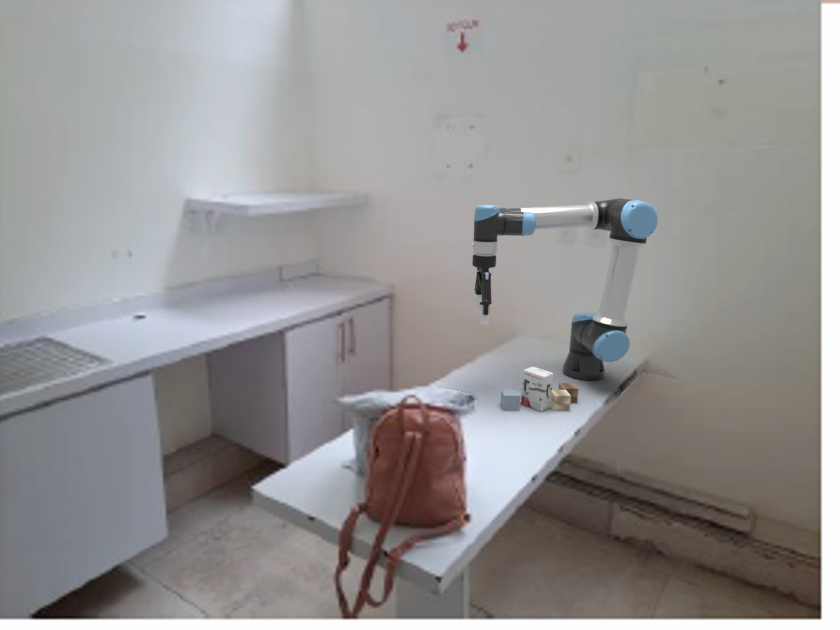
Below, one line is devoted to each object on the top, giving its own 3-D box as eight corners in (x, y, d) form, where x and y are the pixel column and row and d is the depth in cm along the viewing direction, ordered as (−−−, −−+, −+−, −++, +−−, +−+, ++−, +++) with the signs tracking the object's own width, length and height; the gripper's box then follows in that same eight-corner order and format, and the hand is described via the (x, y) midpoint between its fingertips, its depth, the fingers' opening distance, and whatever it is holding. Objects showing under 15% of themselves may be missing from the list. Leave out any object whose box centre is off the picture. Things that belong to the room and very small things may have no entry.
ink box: (519, 403, 186) (522, 369, 183) (528, 399, 189) (531, 365, 186) (542, 412, 180) (545, 376, 177) (551, 407, 183) (554, 373, 180)
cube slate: (515, 404, 186) (516, 389, 184) (519, 410, 181) (520, 395, 180) (500, 404, 185) (501, 389, 184) (503, 410, 180) (504, 395, 179)
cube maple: (564, 404, 187) (565, 389, 185) (569, 410, 182) (570, 395, 181) (549, 404, 186) (550, 389, 185) (553, 410, 182) (555, 395, 180)
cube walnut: (572, 397, 193) (573, 383, 192) (577, 403, 188) (578, 388, 187) (557, 397, 192) (558, 382, 191) (562, 403, 188) (563, 388, 186)
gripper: (468, 248, 195) (465, 309, 201) (478, 260, 171) (475, 329, 177) (490, 248, 196) (487, 309, 201) (503, 260, 172) (499, 329, 177)
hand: (481, 318), depth 189 cm, fingers open, 13 cm apart
